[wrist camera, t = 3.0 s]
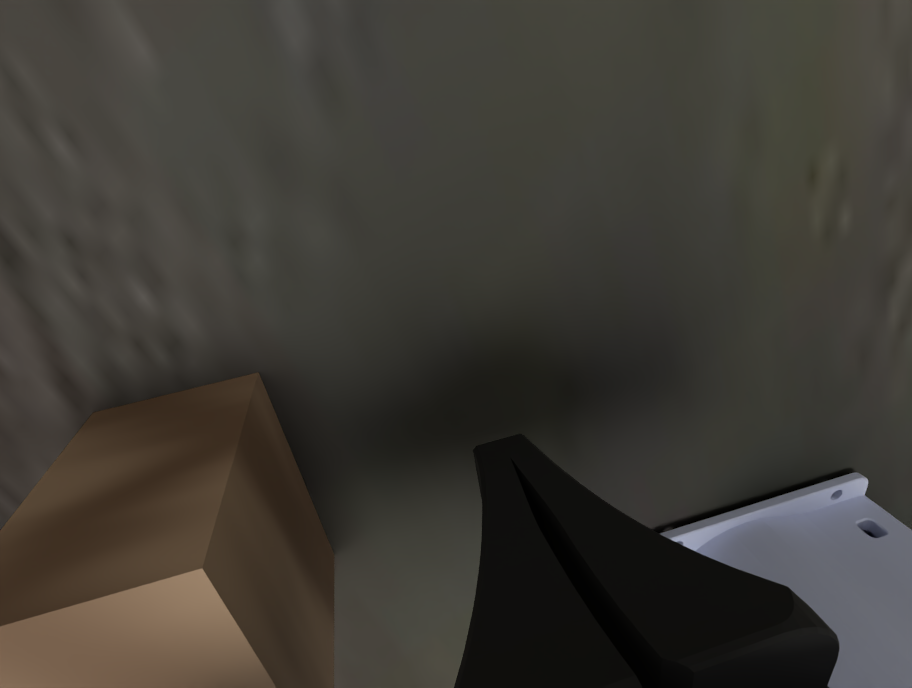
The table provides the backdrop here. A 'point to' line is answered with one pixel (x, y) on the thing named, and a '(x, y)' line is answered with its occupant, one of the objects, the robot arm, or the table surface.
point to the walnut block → (170, 554)
